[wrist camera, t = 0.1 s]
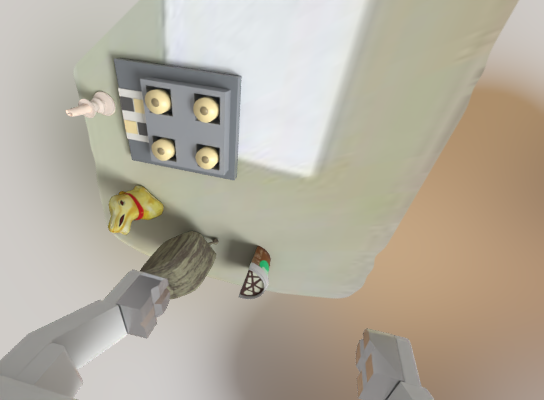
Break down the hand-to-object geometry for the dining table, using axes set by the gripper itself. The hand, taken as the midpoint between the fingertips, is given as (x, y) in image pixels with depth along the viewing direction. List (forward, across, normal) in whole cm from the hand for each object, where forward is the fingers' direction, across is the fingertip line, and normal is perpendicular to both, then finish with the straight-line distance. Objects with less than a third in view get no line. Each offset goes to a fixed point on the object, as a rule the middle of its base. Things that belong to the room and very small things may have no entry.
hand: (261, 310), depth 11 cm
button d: (+44, +31, +14) cm, 56 cm away
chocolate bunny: (+48, +41, +32) cm, 71 cm away
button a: (+44, +21, +4) cm, 49 cm away
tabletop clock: (+48, +27, +42) cm, 70 cm away
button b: (+44, +21, +14) cm, 51 cm away
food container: (+48, +7, +45) cm, 66 cm away
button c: (+44, +31, +4) cm, 54 cm away
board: (+48, +29, +9) cm, 57 cm away
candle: (+48, +48, +8) cm, 68 cm away
